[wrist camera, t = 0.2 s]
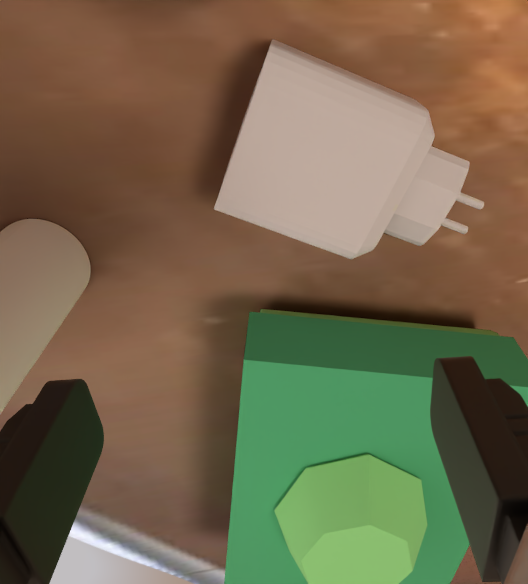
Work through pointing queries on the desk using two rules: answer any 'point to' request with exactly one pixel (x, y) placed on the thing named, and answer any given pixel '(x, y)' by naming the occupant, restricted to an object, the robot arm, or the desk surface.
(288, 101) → the charger
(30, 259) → the spray bottle
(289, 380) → the toy tank
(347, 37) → the desk surface
